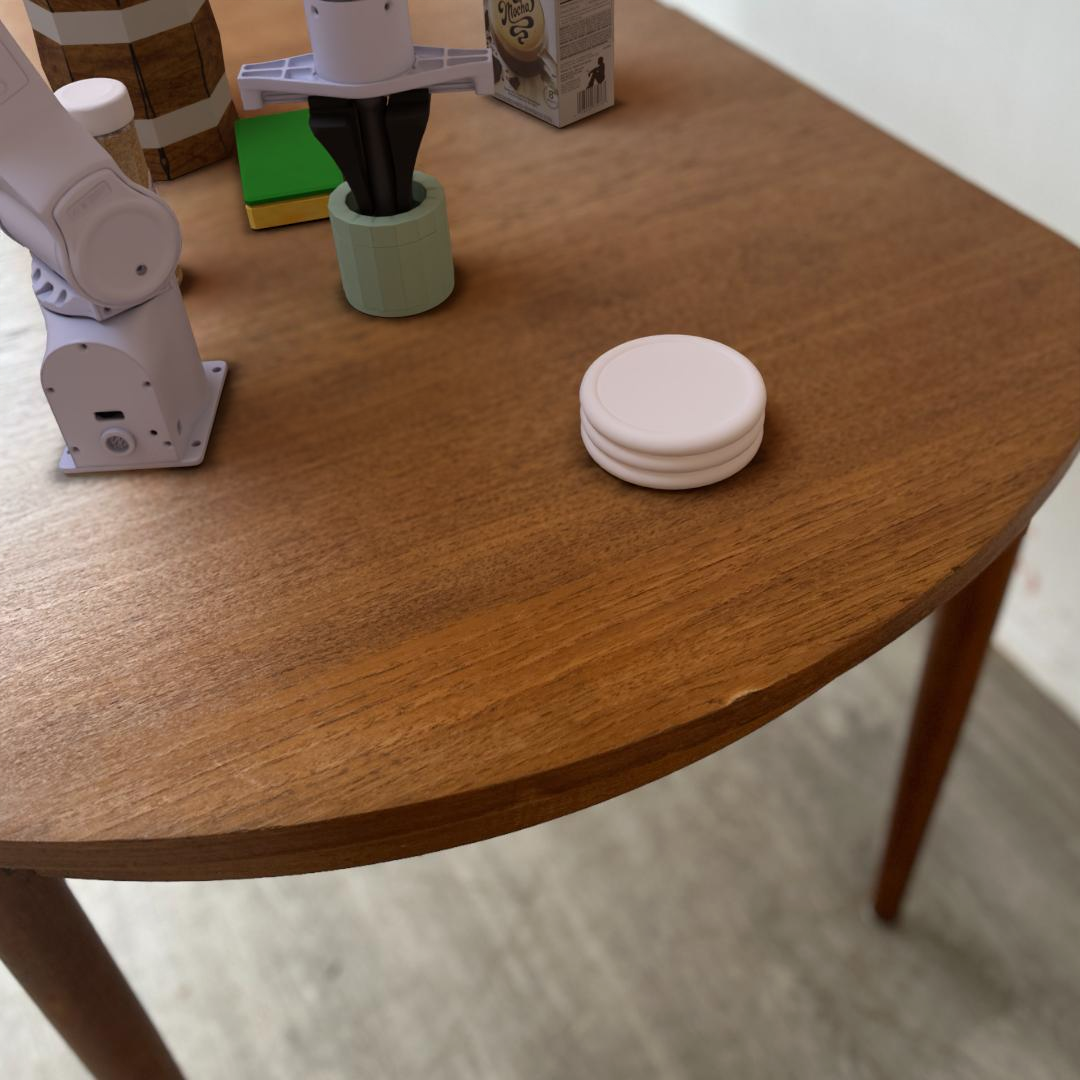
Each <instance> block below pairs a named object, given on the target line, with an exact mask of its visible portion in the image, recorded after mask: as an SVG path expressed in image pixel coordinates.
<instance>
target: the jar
mask: <svg viewBox="0 0 1080 1080" xmlns="http://www.w3.org/2000/svg"><path fill="white" fill-rule="evenodd" d="M412 195H413V205H412V209H413V210H411V211H409V212H406V213H402V214H398V215H394V216H387V217H371V216H364V215H361V213H360V210H359V207H358V205H357V202H356V200H355V197H354V195H353V193H352V191H351V189H350V187H349V185H348V183H347V181H346V180H345V181H344V183H342V184H340V185H339V186H338V187H337V188H336V189H335V190H334V191H333V192H332V193H331V194H330V197H329V202H328V211H329V216H330V217H329V221H330V226H331V231H332V237H333V242H334V247H335V252H336V257H337V262H338V267H339V273H340V279H341V283H342V289H343V291H344V293H345V297H346V300H347V302H348V303H349V304H350V305H351V306H352V307H353V308H354V309H356V310H357V311H359V312H362V313H363V314H367V315H369V316H374V317H380V318H381V317H382V318H401V317H402V318H403V317H409V316H414V315H417V314H421V313H425V312H426V311H429V310H431V309H434V308H435V307H437V306H439V305H440V304H441V303H443V302H445V300H447V299H448V298H449V296H450V295H451V294H452V293H453V290H454V287H455V284H456V283H455V266H454V260H453V259H454V258H453V250H452V243H451V234H450V225H449V218H448V217H449V216H448V207H447V201H446V192H445V187H444V186H443V185H442V183H441V182H440V181H439V180H438V179H437V178H436V177H435V176H432V175H429V174H428V173H425V172H422V171H420V170H414V172H413V178H412Z"/></svg>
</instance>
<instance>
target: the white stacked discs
mask: <svg viewBox="0 0 1080 1080" xmlns="http://www.w3.org/2000/svg"><path fill="white" fill-rule="evenodd" d="M578 394H579V395H578V397H579V404H580V408H579V417H580V436H581V438H582V442H583V445H584V446H585V449H586V450H587V453H588V454H589V455H590V457H591V458H592V460H593V461H594V462H595V463H596V464H597V465H598V466H599V467H600V468H602V469H604V470H605V472H608V473H609V474H610V475H612V476H615V477H616V478H618V479H620V480H622V481H625V482H628V483H631V484H634V485H637V486H641V487H645V488H651V489H657V490H689V489H694V488H700V487H704V486H709V485H713V484H716V483H719V482H721V481H723V480H726V479H728V478H730V477H732V476H733V475H735V474H736V473H739V472H740V471H741V470H742V469H744V468H745V467H746V466H747V465H748V464H749V463H750V462H751V461H752V460H753V459H754V457H755V456H756V454H757V453H758V450H759V449H760V446H761V443H762V442H763V436H764V424H765V418H766V405H767V399H768V398H767V388H766V385H765V382H764V379H763V376H762V374H761V372H760V371H759V370H758V368H757V367H756V366H755V365H754V363H753V362H752V361H751V360H750V359H749V358H748V357H746V355H744V354H742V353H741V352H740V351H737V350H735V349H734V348H733V347H730V346H728V345H726V344H723V343H722V342H719V341H716V340H713V339H709V338H705V337H701V336H696V335H689V334H671V333H670V334H655V335H650V336H649V335H648V336H644V337H640V338H635V339H631V340H628V341H626V342H624V343H621V344H619V345H617V346H615V347H612V348H611V349H609V350H607V351H606V352H605V353H602V354H601V355H600V356H598V357H597V358H596V359H595V360H594V361H593V362H592V363H591V365H590V366H589V367H588V369H586V372H585V373H584V375H583V377H582V381H581V383H580V387H579V393H578Z"/></svg>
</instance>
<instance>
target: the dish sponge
mask: <svg viewBox="0 0 1080 1080" xmlns="http://www.w3.org/2000/svg"><path fill="white" fill-rule="evenodd" d="M309 117H310V114H309V108H303V109H297V110H292V111H289V110H288V111H283V112H275V113H271V114H265V115H264V114H263V115H258V116H251V117H244V118H240V119H238V120H236V121H235V122H234V126H235V134H236V141H235V143H236V149H237V156H238V164H239V172H240V180H241V187H242V195H243V202H244V205H245V210H246V213H247V218H248V222H249V225H250V226H249V227H250V229H254V230H260V229H265V228H266V229H267V228H272V227H278V226H284V225H289V224H296V223H301V222H308V221H313V220H320V219H326V218H330V216H329V211H328V202H329V197H330V194H331V193H332V192H333V191H334V190H335V189H336V188H337V187H338V186H339V185H340V184H342V183H344V182H345V178H344V176H343V174H342V172H341V171H340V169H339V167H338V166H337V164H336V163H335V161H334V160H333V159H332V157H331V156H330V155H329V153H328V152H327V151H326V149H325V148H324V147H323V146H322V144H321V143H320V142H319V141H318V140H317V139H316V138H315V137H314V135H313V133H312V131H311V129H310V126H309V123H308V121H309Z"/></svg>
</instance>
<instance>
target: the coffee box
mask: <svg viewBox="0 0 1080 1080" xmlns="http://www.w3.org/2000/svg"><path fill="white" fill-rule="evenodd" d="M482 6H483V18H484V35H485V44H486V49H488V48H491V49H492V60H493V72H494V94H492V95H490V96H491V97H493V98H496V99H498V100H500V101H502V102H504V103H506V104H508V105H511V106H513V107H514V108H516V109H519V110H521V111H523V112H525V113H527V114H529V115H531V116H533V117H536V118H537V119H540V120H542V121H544V122H545V123H548V124H550V125H552V126H554V127H556V128H563V127H566V126H568V125H571V124H573V123H575V122H577V121H580V120H582V119H585V118H586V117H590V116H591V115H593V114H596V113H598V112H601V111H603V110H606V109H608V108H610V107H612V106H614V105H615V0H482Z"/></svg>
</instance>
